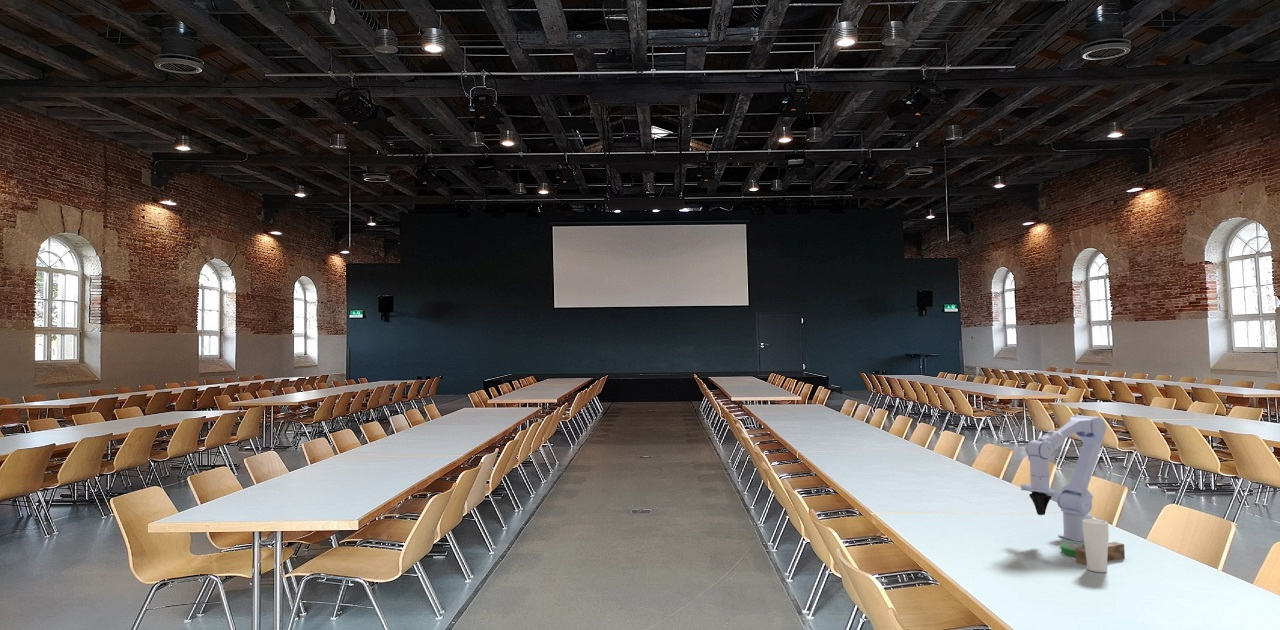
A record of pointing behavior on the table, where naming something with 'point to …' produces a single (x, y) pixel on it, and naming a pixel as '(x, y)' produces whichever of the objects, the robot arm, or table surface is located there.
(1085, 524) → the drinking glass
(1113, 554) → the brown wooden bar
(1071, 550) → the tape roll
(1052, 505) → the table surface
